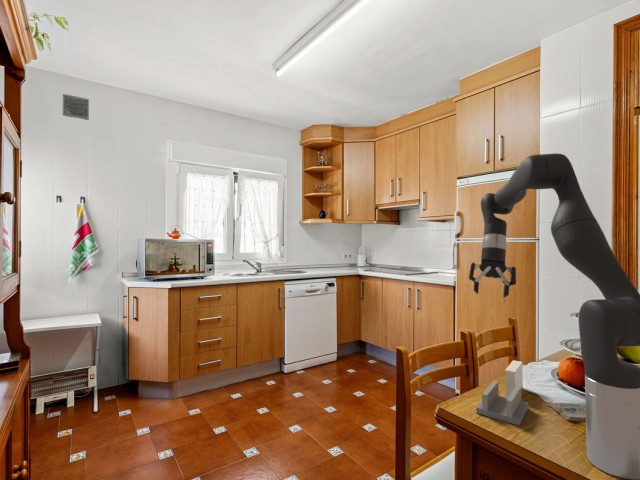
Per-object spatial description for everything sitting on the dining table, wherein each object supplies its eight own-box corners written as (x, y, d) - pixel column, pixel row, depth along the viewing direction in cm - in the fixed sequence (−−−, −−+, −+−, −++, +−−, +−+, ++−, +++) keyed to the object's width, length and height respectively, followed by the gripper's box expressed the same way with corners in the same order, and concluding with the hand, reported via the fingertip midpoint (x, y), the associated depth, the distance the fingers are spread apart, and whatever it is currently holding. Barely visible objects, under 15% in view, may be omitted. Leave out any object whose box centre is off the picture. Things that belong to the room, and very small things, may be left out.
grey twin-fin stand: (528, 408, 94) (527, 388, 94) (519, 425, 85) (518, 403, 85) (488, 398, 100) (487, 379, 100) (476, 413, 92) (475, 392, 92)
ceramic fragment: (562, 417, 87) (544, 393, 96) (562, 428, 87) (544, 404, 97) (611, 419, 85) (588, 395, 94) (610, 431, 85) (587, 406, 95)
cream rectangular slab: (522, 388, 106) (522, 361, 106) (515, 400, 99) (514, 372, 99) (513, 386, 108) (513, 360, 108) (505, 397, 101) (505, 369, 100)
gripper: (472, 244, 120) (468, 291, 117) (519, 248, 115) (516, 297, 112) (470, 249, 127) (467, 293, 124) (514, 253, 122) (512, 299, 119)
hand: (490, 295), depth 118 cm, fingers open, 8 cm apart
